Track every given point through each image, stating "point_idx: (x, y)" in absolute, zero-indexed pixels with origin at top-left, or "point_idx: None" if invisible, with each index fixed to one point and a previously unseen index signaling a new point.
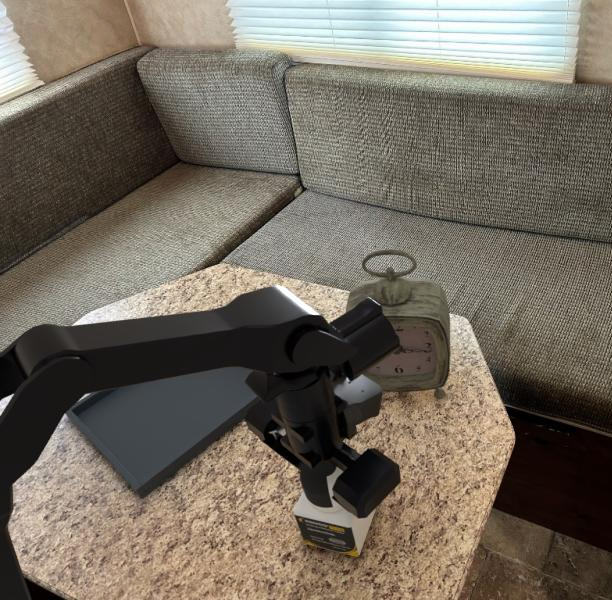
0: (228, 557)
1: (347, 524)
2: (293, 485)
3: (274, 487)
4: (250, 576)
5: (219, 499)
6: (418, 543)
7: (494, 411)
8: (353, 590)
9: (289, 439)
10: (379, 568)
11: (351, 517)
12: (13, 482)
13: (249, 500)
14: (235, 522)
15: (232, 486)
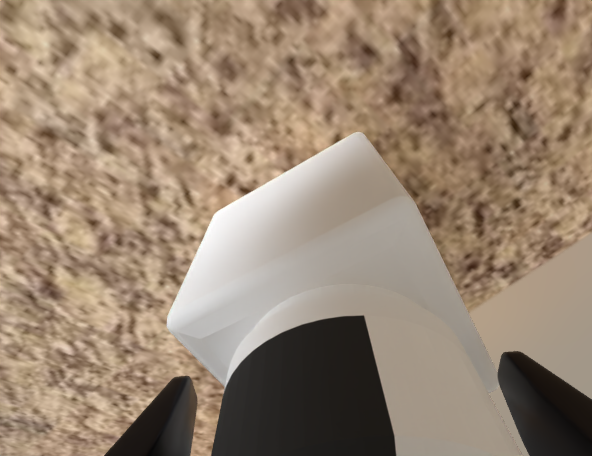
0: (208, 417)
1: (489, 391)
2: (127, 256)
3: (103, 291)
4: None
5: (62, 380)
6: (546, 123)
7: None
8: (466, 307)
9: None
10: (488, 242)
11: (487, 374)
12: None
13: (104, 343)
14: (142, 382)
15: (41, 350)
